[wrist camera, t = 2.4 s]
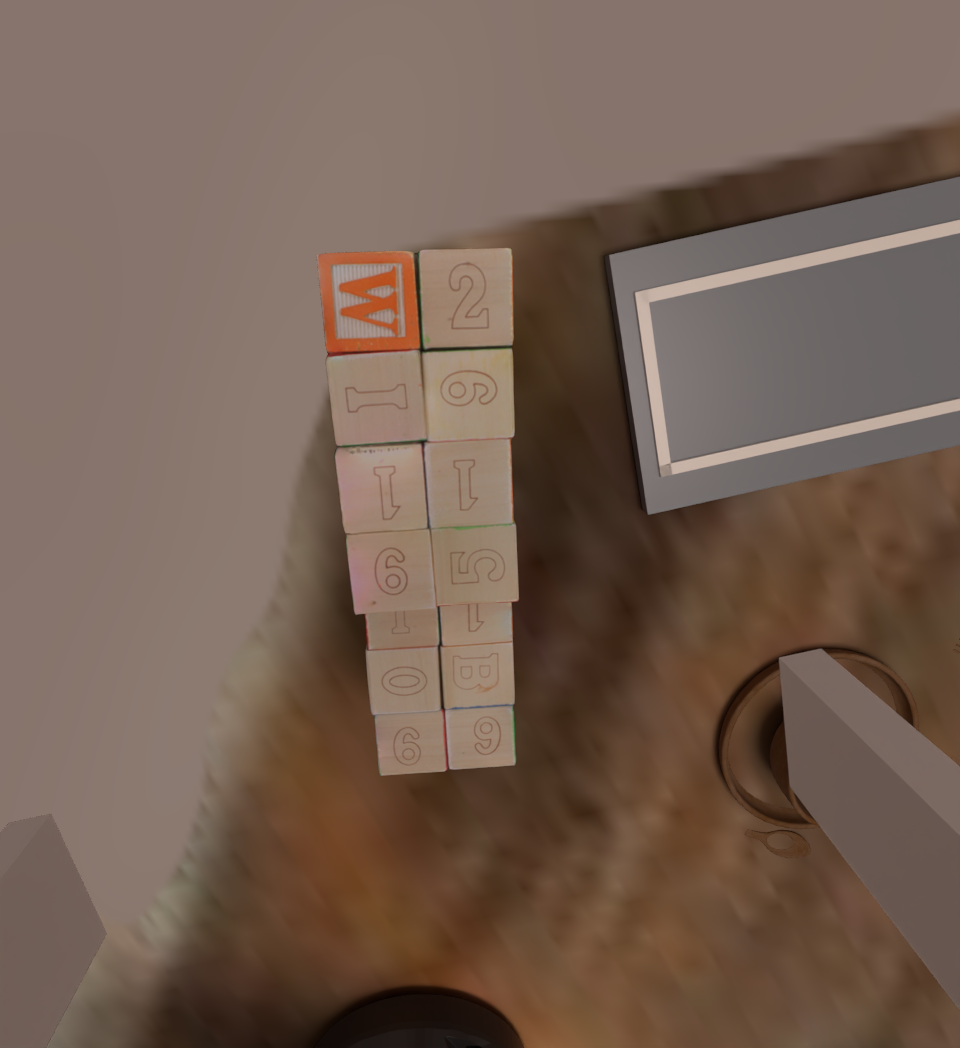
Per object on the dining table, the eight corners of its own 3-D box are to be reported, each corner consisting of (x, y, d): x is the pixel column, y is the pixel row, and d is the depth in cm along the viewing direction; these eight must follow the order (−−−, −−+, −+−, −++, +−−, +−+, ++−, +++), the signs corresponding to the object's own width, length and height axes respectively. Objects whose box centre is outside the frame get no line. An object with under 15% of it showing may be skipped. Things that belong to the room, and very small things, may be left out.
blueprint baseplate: (642, 509, 37) (648, 515, 36) (604, 256, 34) (610, 254, 32) (1114, 404, 37) (1136, 406, 36) (1128, 139, 34) (1153, 133, 32)
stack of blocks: (498, 668, 40) (525, 816, 28) (387, 675, 39) (367, 827, 28) (487, 270, 34) (515, 243, 22) (356, 274, 33) (313, 249, 21)
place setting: (787, 568, 40) (846, 610, 34) (1070, 667, 43) (1167, 720, 37) (662, 816, 44) (696, 889, 38) (928, 889, 47) (995, 967, 41)
